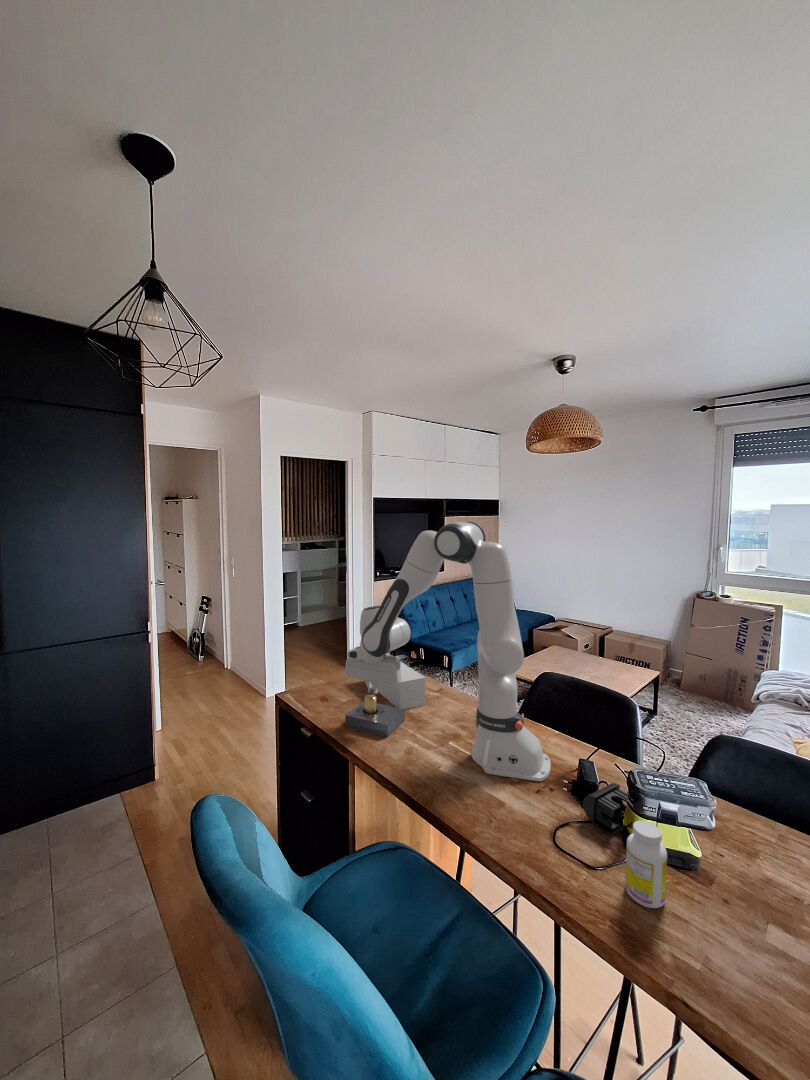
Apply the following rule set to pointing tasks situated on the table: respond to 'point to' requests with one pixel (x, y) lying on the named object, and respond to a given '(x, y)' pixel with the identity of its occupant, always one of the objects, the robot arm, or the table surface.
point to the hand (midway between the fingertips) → (372, 692)
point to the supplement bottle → (646, 865)
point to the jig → (375, 719)
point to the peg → (370, 704)
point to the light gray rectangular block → (405, 689)
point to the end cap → (607, 808)
